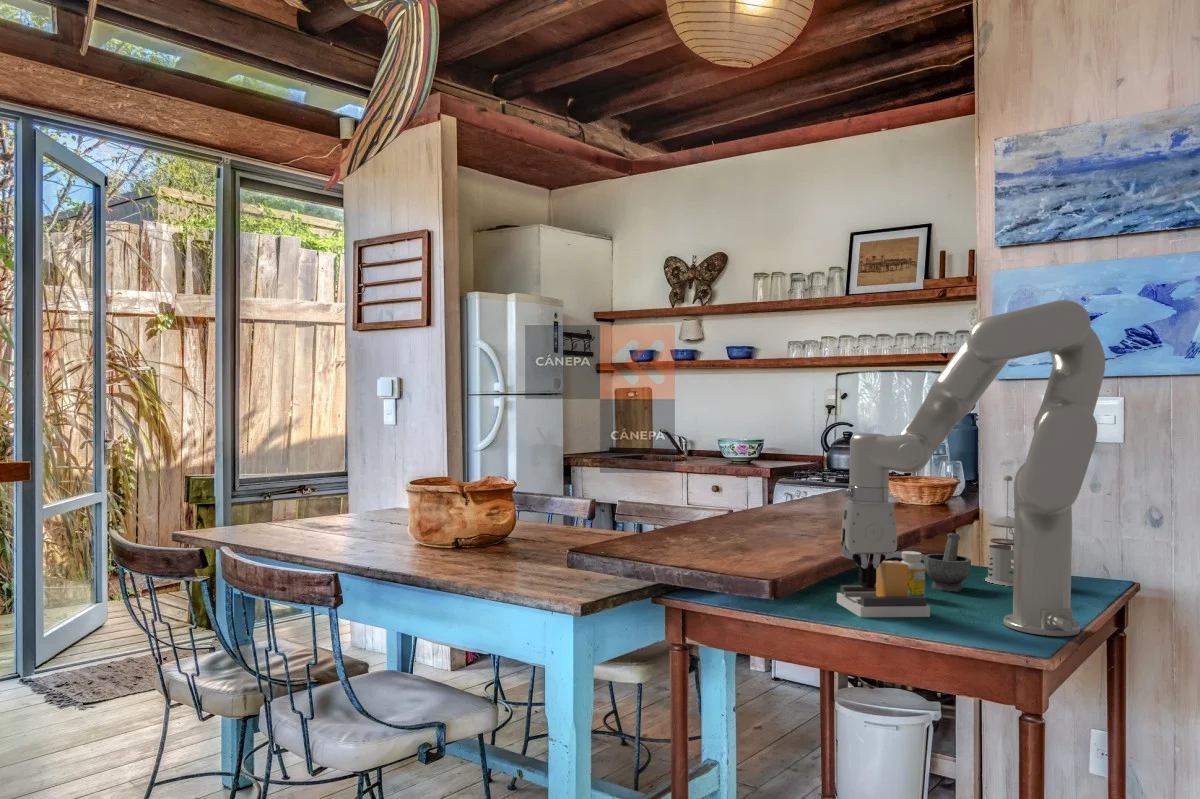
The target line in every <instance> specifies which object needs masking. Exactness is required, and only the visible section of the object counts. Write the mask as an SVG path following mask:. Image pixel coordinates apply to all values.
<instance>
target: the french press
mask: <svg viewBox="0 0 1200 799" xmlns="http://www.w3.org/2000/svg"><path fill="white" fill-rule="evenodd" d="M1003 481H1006V484H1007V486H1006V516H1002V517H1000V516H999V517H996V518H992V519H991V520H990V521H988V524H989V525H990V526H992V527H997V528H1005V529H1006V536H1005V538H1003V537H1000V538H999V537H998V538H997V537H996V538H991V539H990V540H989V541H990V542H991V543H993V544H989V545H988V548H987V549H988V554H987V555H988V558H987V559H988V564H987V566H988V567H987V571H988V572H987V577H985V578H984V579H985V581H987V582H990V583H994V584H999V585H1005V586H1004V587H1007V586H1013V574H1014V562H1012V561H1014V530H1013V529H1014V525H1015V517H1010V515H1009V482H1010V481H1013V477H1012V476H1011V475H1005V476H1003ZM1008 533H1009V534H1010V535H1012V538H1008ZM1012 572H1013V573H1012ZM994 584H993V585H994ZM999 585H998V586H999Z"/></svg>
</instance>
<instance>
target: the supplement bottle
mask: <svg viewBox="0 0 1200 799" xmlns="http://www.w3.org/2000/svg"><path fill="white" fill-rule="evenodd" d="M922 558H923V557H922V553H921V552H920V551H919V552H918V551H913V550H907V551H906V550H903V551H901V559H902V560H900V562H902V563H904V564H907V565H908V596H923V597H925V596H926V594H925V593H926V591H925V590H926V570H925V565H924V562H921V561H922ZM925 598H926V597H925Z"/></svg>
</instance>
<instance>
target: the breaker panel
mask: <svg viewBox="0 0 1200 799" xmlns="http://www.w3.org/2000/svg"><path fill="white" fill-rule="evenodd" d="M836 603H837V604H838V605H840V606H841V607H844V608H845V609H847V610H848V611H849V612H851V613H853V614H854V615H856V616H858V618H923V617H924V618H925V617H926V618H927V617H928V618H930V616H931V605H928V604H927V597H923V596H876V584H875V587H874V589H871V588H869V589H866V588H864V587H862V586H861V585H860V584H858V585H857V584H856V585H855V584H850V585H849V584H841V585H840V592H836Z"/></svg>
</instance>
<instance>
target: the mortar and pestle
mask: <svg viewBox="0 0 1200 799" xmlns="http://www.w3.org/2000/svg"><path fill="white" fill-rule="evenodd" d="M946 537H947V541H946V544H945V549H944V553H942V554H941V553H932V554H930V553H929V554H925V555H923V564H924V565H925V573H926V575H927V576H928V577H929V578H930V579H931V580H932V583H931V588H932V587H933V588H932V589H934V588H936V589H940V590H939V591H941V590H948V591H947V592H950V591H955V592H959V591H958V590H961V589H962V588H963V586H962V582H964V581H965V580H966V579H967V577H968V576H969V574H970V573H971V568H972V559H971V558H968V557H966V556H963V555H961V556H960V555H958V550H959V542H960V540H961V536H960V534H957V533H956V532H955V533H954V532H949V533H947V535H946ZM936 589H935V590H936ZM961 591H962V590H961Z"/></svg>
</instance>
